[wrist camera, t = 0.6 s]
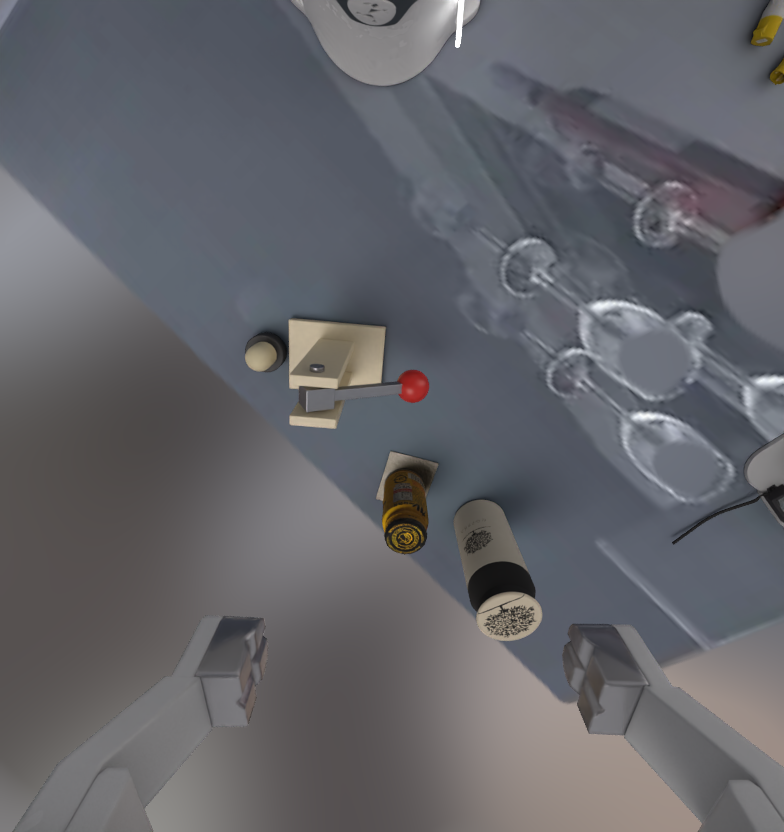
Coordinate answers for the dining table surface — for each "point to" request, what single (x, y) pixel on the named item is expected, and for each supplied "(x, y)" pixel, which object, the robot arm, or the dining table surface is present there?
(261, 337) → the pilot lamp
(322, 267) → the dining table surface
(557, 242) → the dining table surface
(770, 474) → the neon sign
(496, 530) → the travel mug
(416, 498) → the condiment
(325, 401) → the switch lever
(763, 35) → the extension cord
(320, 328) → the switch bracket
